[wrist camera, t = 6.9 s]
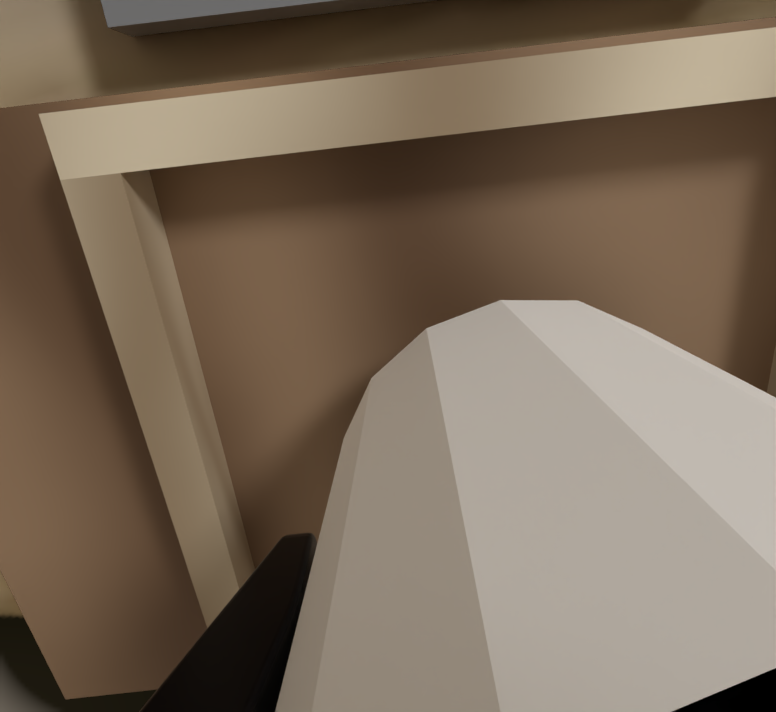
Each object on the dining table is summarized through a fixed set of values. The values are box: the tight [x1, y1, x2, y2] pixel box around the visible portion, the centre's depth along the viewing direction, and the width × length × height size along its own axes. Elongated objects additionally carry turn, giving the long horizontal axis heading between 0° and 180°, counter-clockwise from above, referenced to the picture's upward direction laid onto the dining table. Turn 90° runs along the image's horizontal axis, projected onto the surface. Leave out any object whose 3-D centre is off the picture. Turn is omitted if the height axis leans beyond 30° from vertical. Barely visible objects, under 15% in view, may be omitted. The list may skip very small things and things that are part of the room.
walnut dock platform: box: [0, 17, 776, 699], centre depth 12 cm, size 20×12×6 cm, turn 96°
